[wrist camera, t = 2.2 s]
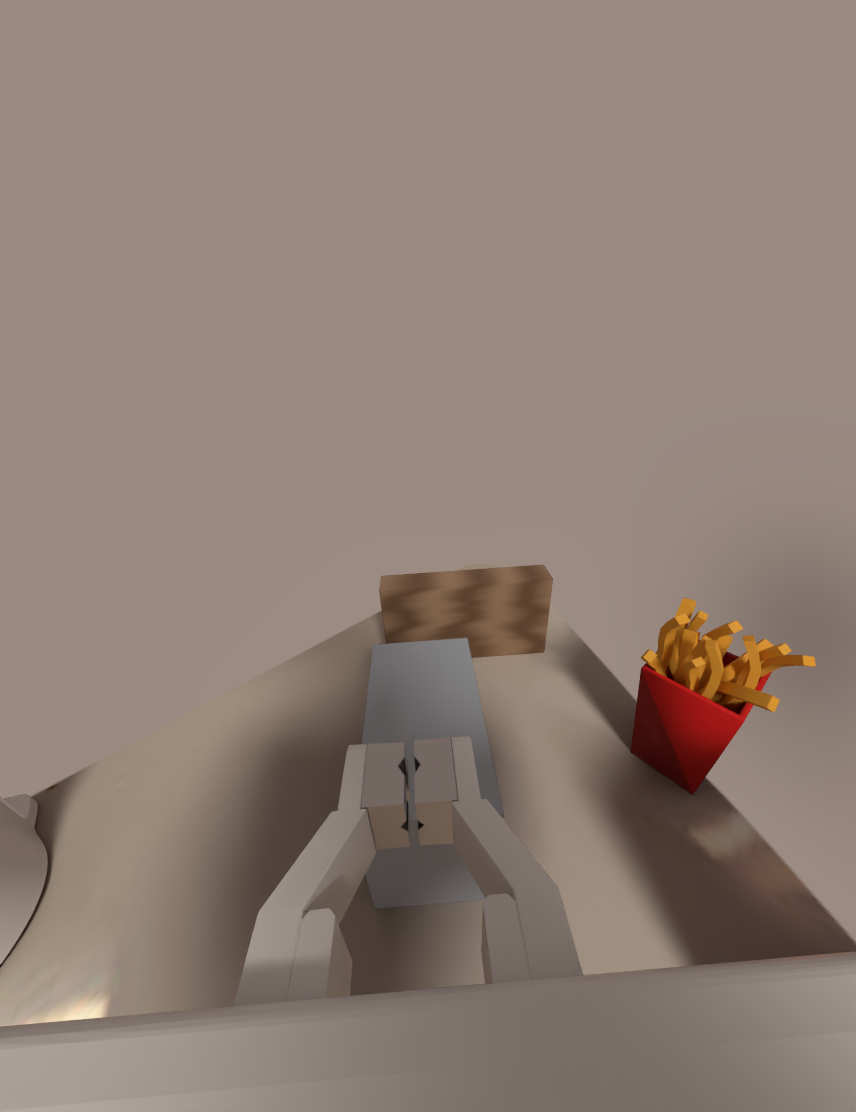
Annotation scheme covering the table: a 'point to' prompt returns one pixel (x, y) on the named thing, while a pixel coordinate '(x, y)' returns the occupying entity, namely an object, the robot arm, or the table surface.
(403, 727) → the slate block
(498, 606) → the walnut board
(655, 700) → the french fries
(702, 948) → the table surface
